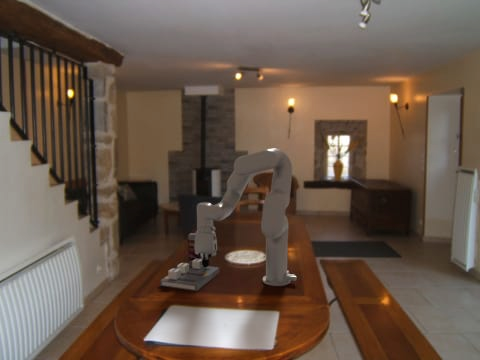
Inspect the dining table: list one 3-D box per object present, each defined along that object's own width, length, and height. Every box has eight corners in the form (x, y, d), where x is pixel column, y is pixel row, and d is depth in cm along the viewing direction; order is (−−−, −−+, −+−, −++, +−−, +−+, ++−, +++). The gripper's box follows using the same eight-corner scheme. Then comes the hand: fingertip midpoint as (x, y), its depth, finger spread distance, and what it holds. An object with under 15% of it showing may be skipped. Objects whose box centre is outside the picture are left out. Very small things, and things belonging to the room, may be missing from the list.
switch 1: (180, 276, 185) (180, 268, 185) (176, 279, 181) (176, 271, 181) (173, 275, 186) (172, 267, 186) (168, 278, 183) (168, 270, 182)
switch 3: (203, 266, 199) (203, 258, 198) (199, 269, 195) (199, 261, 194) (196, 265, 200) (195, 257, 200) (192, 268, 196) (192, 260, 196)
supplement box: (188, 265, 209) (187, 235, 207) (191, 262, 213) (190, 232, 211) (204, 266, 207) (203, 235, 205) (207, 263, 212) (206, 233, 210)
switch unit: (219, 272, 198) (219, 267, 198) (196, 291, 176) (196, 285, 176) (186, 268, 205) (185, 263, 204) (160, 285, 182) (160, 280, 182)
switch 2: (189, 270, 193) (188, 263, 192) (185, 273, 189) (184, 265, 188) (181, 269, 194) (181, 262, 193) (177, 272, 190) (177, 264, 190)
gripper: (222, 228, 195) (223, 266, 197) (194, 225, 200) (195, 262, 202) (216, 232, 188) (217, 271, 190) (187, 229, 193) (188, 267, 195)
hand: (205, 266), depth 196 cm, fingers closed
